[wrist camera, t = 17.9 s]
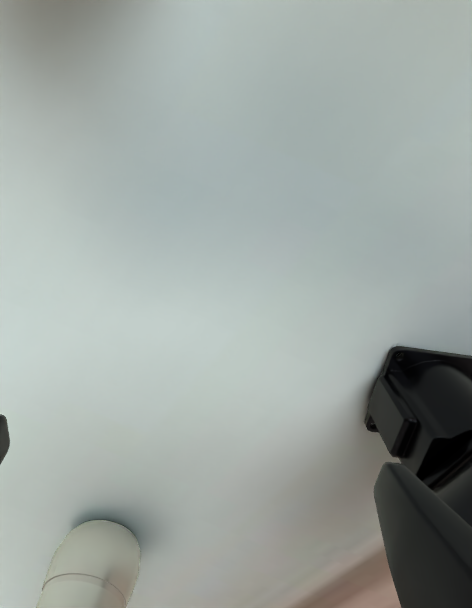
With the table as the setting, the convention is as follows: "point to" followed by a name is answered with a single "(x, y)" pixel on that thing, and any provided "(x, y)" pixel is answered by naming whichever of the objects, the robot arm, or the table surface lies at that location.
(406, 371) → the robot arm
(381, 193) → the table surface
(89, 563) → the plastic bottle
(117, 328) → the table surface
